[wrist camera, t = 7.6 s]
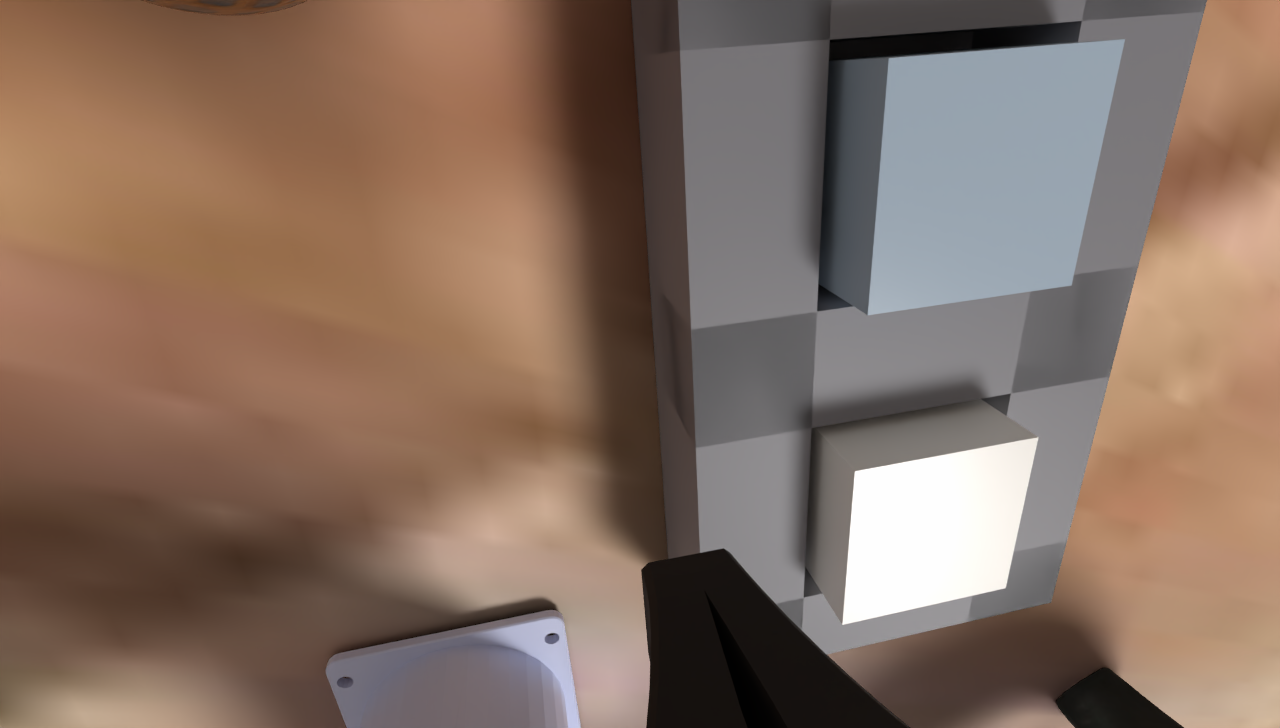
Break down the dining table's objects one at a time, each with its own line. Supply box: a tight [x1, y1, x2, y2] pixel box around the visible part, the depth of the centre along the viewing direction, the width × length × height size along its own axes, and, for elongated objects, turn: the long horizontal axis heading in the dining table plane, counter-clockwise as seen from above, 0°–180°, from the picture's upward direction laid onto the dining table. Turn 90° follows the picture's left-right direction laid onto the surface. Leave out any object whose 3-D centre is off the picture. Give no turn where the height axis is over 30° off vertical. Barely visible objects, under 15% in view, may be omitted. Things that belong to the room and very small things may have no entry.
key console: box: [631, 0, 1207, 655], centre depth 19 cm, size 20×12×4 cm, turn 4°
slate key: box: [818, 39, 1125, 315], centre depth 15 cm, size 5×5×4 cm
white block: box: [805, 399, 1038, 625], centre depth 19 cm, size 5×5×4 cm
